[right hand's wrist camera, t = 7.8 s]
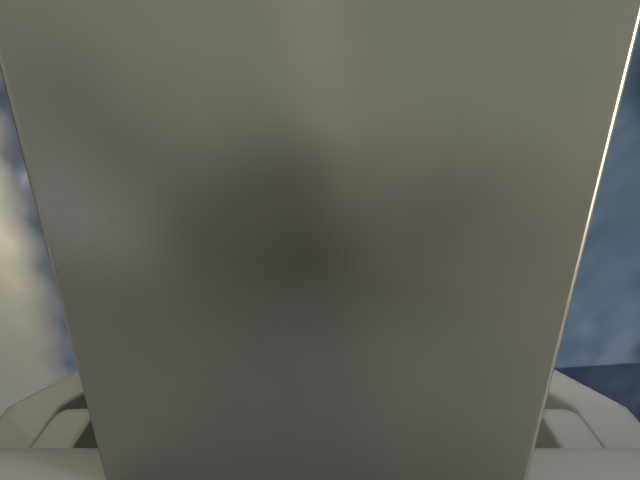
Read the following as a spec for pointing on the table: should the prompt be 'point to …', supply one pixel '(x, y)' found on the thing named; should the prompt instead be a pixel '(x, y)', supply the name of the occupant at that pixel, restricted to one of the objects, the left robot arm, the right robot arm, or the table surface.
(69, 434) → the right robot arm
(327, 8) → the bar
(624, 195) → the table surface
